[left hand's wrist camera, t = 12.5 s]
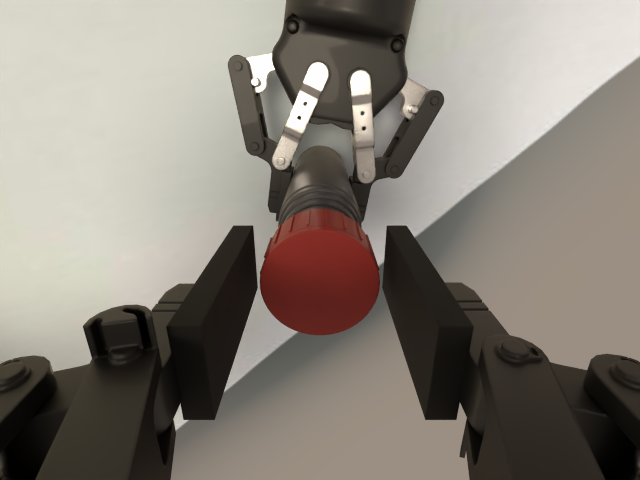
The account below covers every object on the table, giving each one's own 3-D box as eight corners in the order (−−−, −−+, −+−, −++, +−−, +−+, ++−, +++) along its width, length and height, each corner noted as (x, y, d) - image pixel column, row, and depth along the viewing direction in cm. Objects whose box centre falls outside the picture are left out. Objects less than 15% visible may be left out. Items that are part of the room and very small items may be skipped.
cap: (332, 318, 15) (335, 354, 13) (248, 270, 15) (236, 300, 12) (393, 244, 14) (405, 270, 12) (304, 186, 13) (301, 204, 11)
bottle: (326, 202, 32) (334, 347, 14) (287, 176, 31) (238, 294, 13) (353, 163, 31) (404, 265, 12) (313, 135, 30) (302, 200, 11)
